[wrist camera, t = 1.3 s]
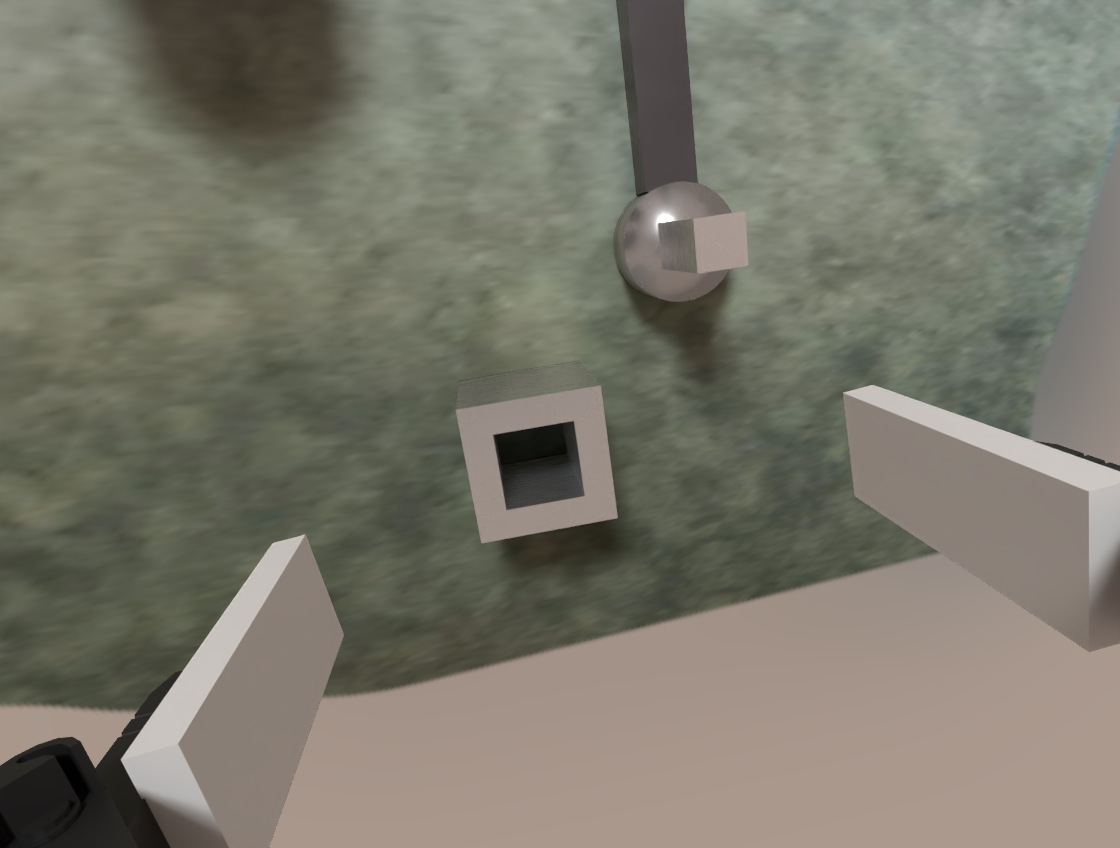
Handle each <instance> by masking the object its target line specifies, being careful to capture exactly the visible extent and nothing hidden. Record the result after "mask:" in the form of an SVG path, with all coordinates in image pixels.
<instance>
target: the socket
mask: <svg viewBox="0 0 1120 848" xmlns="http://www.w3.org/2000/svg"><path fill="white" fill-rule="evenodd" d="M456 414H457V419H458V424H459V430H460V435H461V440H462V445H463V450H464V455H465V460H466V466H467V471H468V476H469V481H470V486H471V491H472V497H473V502H474V507H475V512H476V517H477V522H478V527H479V533H480V538H481V543H486V542H492V541H497V540H502V539H508V538H513V537H519V536H524V535H529V534H535V533H540V532H546V531H551V530H556V529H562V528H567V527H573V526H578V525H583V524H589V523H594V522H599V521H605V520H610V519H616V518H618V516H617V508H616V500H615V493H614V485H613V477H612V469H611V461H610V454H609V446H608V438H607V430H606V422H605V415H604V407H603V399H602V391H601V385H600V384H599V383H598V382H597V381H596V380H595V378H594V377H593V376H592V375H591V374H590V373H589V372H588V371H587V369H586V368H585V367H584V366H583V365H582V364H581V363H580V362H579V361H574V362H568V363H562V364H556V365H550V366H544V367H538V368H532V369H526V370H520V371H514V372H508V373H502V374H496V375H490V376H483V377H477V378H471V379H465V380H459V387H458V395H457V403H456ZM558 423H562V428H563V435H564V442H565V448H566V454H561V455H555V456H549V457H544V458H538V459H532V460H527V461H521V462H515V463H510V464H504V465H501V461H500V455H499V449H498V444H497V438H496V434H500V433H506V432H512V431H518V430H524V429H529V428H535V427H541V426H547V425H553V424H558Z"/></svg>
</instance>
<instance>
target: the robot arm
mask: <svg viewBox="0 0 1120 848" xmlns="http://www.w3.org/2000/svg"><path fill="white" fill-rule="evenodd" d="M843 397H844V406H845V415H846V424H847V433H848V441H849V450H850V459H851V468H852V477H853V485H854V494H855V497H857V498H858V499H860V500H861V501H863V502H864V503H866V504H867V505H869V506H870V507H872V508H873V509H875V510H876V511H878V512H879V513H881V514H882V515H884V516H885V517H887V518H888V519H890V520H891V521H893V522H894V523H896V524H897V525H899V526H900V527H902V528H903V529H905V530H906V531H908V532H909V533H911V534H912V535H914V536H915V537H917V538H918V539H920V540H921V541H923V542H924V543H926V544H927V545H929V546H930V547H932V548H933V549H935V550H937V551H938V552H940V553H941V554H943V555H944V556H946V557H947V558H949V559H950V560H952V561H953V562H955V563H956V564H958V565H959V566H961V567H962V568H964V569H965V570H967V571H968V572H970V573H971V574H973V575H974V576H976V577H977V578H979V579H980V580H982V581H983V582H985V583H986V584H988V585H989V586H991V587H992V588H994V589H995V590H997V591H998V592H1000V593H1001V594H1003V595H1004V596H1006V597H1007V598H1009V599H1010V600H1012V601H1013V602H1015V603H1016V604H1018V605H1019V606H1021V607H1022V608H1024V609H1025V610H1027V611H1028V612H1030V613H1031V614H1033V615H1034V616H1036V617H1037V618H1039V619H1040V620H1042V621H1043V622H1045V623H1046V624H1048V625H1049V626H1051V627H1052V628H1054V629H1055V630H1057V631H1058V632H1060V633H1061V634H1063V635H1064V636H1066V637H1068V638H1069V639H1070V640H1072V641H1073V642H1075V643H1077V644H1078V645H1079V646H1081V647H1082V648H1084V649H1086V650H1087V651H1088V652H1091V651H1095V650H1098V649H1101V648H1105V647H1108V646H1112V645H1115V644H1119V643H1120V466H1119V465H1116V464H1113V463H1105V461H1104V460H1101V459H1098V458H1095V457H1092V456H1089V455H1087V456H1084V455H1083V453H1081V452H1078V451H1075V450H1072V449H1069V448H1066V447H1063V446H1060V445H1057V444H1050V443H1044V442H1038V441H1031V440H1029V439H1026V438H1023V437H1020V436H1017V435H1014V434H1011V433H1009V432H1006V431H1003V430H1000V429H997V428H994V427H992V426H989V425H986V424H983V423H980V422H977V421H974V420H972V419H969V418H966V417H963V416H960V415H957V414H954V413H952V412H949V411H946V410H943V409H940V408H937V407H934V406H932V405H929V404H926V403H923V402H920V401H917V400H914V399H912V398H909V397H906V396H903V395H900V394H897V393H895V392H892V391H889V390H886V389H883V388H880V387H877V386H875V385H871V386H867V387H863V388H860V389H856V390H852V391H848V392H844V393H843ZM343 636H344V634H343V632H342V629H341V626H340V624H339V621H338V618H337V616H336V613H335V611H334V608H333V605H332V603H331V600H330V597H329V595H328V592H327V590H326V587H325V584H324V582H323V579H322V576H321V574H320V571H319V569H318V566H317V563H316V561H315V558H314V555H313V553H312V550H311V548H310V545H309V542H308V540H307V537H306V535H302V536H298V537H294V538H291V539H287V540H283V541H279V542H275V543H273V544H272V545H271V546H270V548H269V549H268V551H267V552H266V554H265V555H264V556H263V558H262V559H261V561H260V562H259V564H258V565H257V566H256V568H255V569H254V571H253V572H252V573H251V575H250V576H249V578H248V579H247V581H246V582H245V583H244V585H243V586H242V588H241V589H240V591H239V592H238V593H237V595H236V596H235V598H234V599H233V601H232V602H231V603H230V605H229V606H228V608H227V609H226V610H225V612H224V613H223V615H222V616H221V618H220V619H219V620H218V622H217V623H216V625H215V626H214V628H213V629H212V630H211V632H210V633H209V635H208V636H207V638H206V639H205V640H204V642H203V643H202V645H201V646H200V647H199V649H198V650H197V652H196V653H195V655H194V656H193V657H192V659H191V660H190V662H189V663H188V665H187V666H186V667H185V669H184V670H182V671H179V672H175V673H174V674H173V675H172V676H171V677H169V678H168V679H167V680H166V681H165V682H164V683H162V684H161V685H160V686H159V687H158V688H157V689H156V690H154V691H153V692H152V693H151V694H150V695H149V696H148V698H147V699H146V701H145V702H144V703H143V705H142V706H141V707H140V709H139V710H138V711H137V713H136V714H135V719H132V720H131V721H130V722H129V724H128V725H127V726H126V728H125V729H124V730H123V732H122V737H119V738H117V740H116V741H115V742H114V744H113V745H112V747H111V748H110V749H109V751H108V752H107V753H106V755H105V756H104V757H103V759H102V760H101V761H100V763H99V764H98V765H97V767H96V768H94V766H93V764H92V762H91V760H90V759H89V756H88V755H87V753H86V751H85V749H84V747H83V745H82V744H81V742H80V741H79V740H77V739H75V738H73V737H66V738H57V739H54V740H51V741H48V742H45V743H42V744H39V745H36V746H34V747H32V748H30V749H28V750H26V751H24V752H22V753H21V754H18V755H17V756H14V757H13V758H11V759H10V760H8V761H7V762H5V763H4V764H2V765H1V766H0V848H269V846H270V843H271V840H272V838H273V835H274V832H275V829H276V826H277V823H278V821H279V818H280V815H281V812H282V809H283V806H284V803H285V801H286V798H287V795H288V792H289V789H290V787H291V784H292V781H293V778H294V775H295V772H296V769H297V767H298V764H299V761H300V758H301V755H302V752H303V750H304V747H305V744H306V741H307V738H308V735H309V733H310V730H311V727H312V724H313V721H314V718H315V715H316V713H317V710H318V707H319V704H320V701H321V699H322V696H323V693H324V690H325V687H326V684H327V682H328V679H329V676H330V673H331V670H332V667H333V665H334V662H335V659H336V656H337V653H338V650H339V648H340V645H341V642H342V639H343Z"/></svg>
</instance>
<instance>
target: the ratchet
mask: <svg viewBox="0 0 1120 848" xmlns="http://www.w3.org/2000/svg"><path fill="white" fill-rule="evenodd" d="M616 2H617V12H618V22H619V31H620V41H621V50H622V60H623V70H624V79H625V89H626V99H627V108H628V118H629V128H630V137H631V147H632V156H633V166H634V176H635V185H636V195H639V194H640V195H639V196H638V197H636V198H635V199H634V200H633V201H632V202H630V203H629V205H628V206H627V207H626V208H625V209H624V211H623V213H622V214H621V216H620V218H619V220H618V222H617V225H616V228H615V233H614V240H613V249H614V256H615V260H616V263H617V266H618V268H619V270H620V272H621V274H622V275H623V277H624V278H625V279H626V281H627V282H628V283H629V284H630V285H631V286H632V287H634V288H635V289H637V290H638V291H640V292H642V293H644V294H646V295H649V296H652V297H656V298H659V299H663V300H667V301H672V302H683V301H689V300H694V299H696V298H699V297H701V296H703V295H705V294H707V293H708V292H710V291H711V290H713V289H714V288H715V287H716V286H717V285H718V284H719V283H720V282H721V281H722V280H723V279H724V277H725V276H726V274H727V273H728V271H729V269H731V268H738V267H744V266H748V251H747V234H746V218H745V211H742V212H734V213H731V211H730V209H729V207H728V205H727V204H726V203H725V201H724V200H723V199H722V198H721V197H720V196H719V195H718V194H717V193H715V192H714V191H713V190H711V189H710V188H708V187H706V186H703V185H701V184H698V181H697V169H696V156H695V143H694V130H693V118H692V105H691V92H690V79H689V67H688V54H687V41H686V29H685V16H684V3H683V0H616Z"/></svg>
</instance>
